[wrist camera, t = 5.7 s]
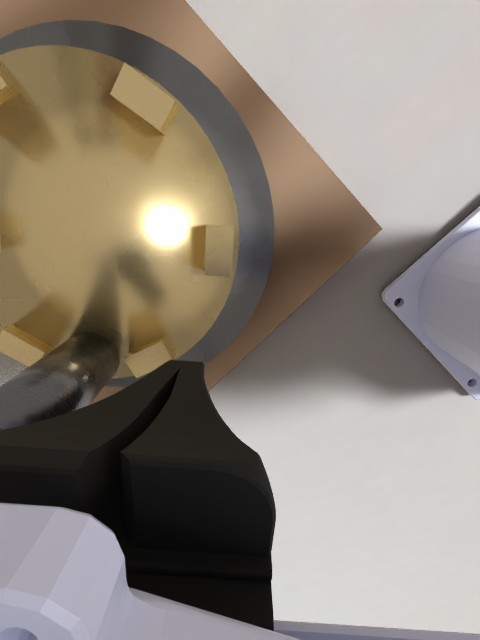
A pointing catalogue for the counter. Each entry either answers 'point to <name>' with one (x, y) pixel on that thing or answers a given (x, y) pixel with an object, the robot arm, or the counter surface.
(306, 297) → the walnut base board
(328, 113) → the counter surface
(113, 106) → the ring nut
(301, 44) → the counter surface
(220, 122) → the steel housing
